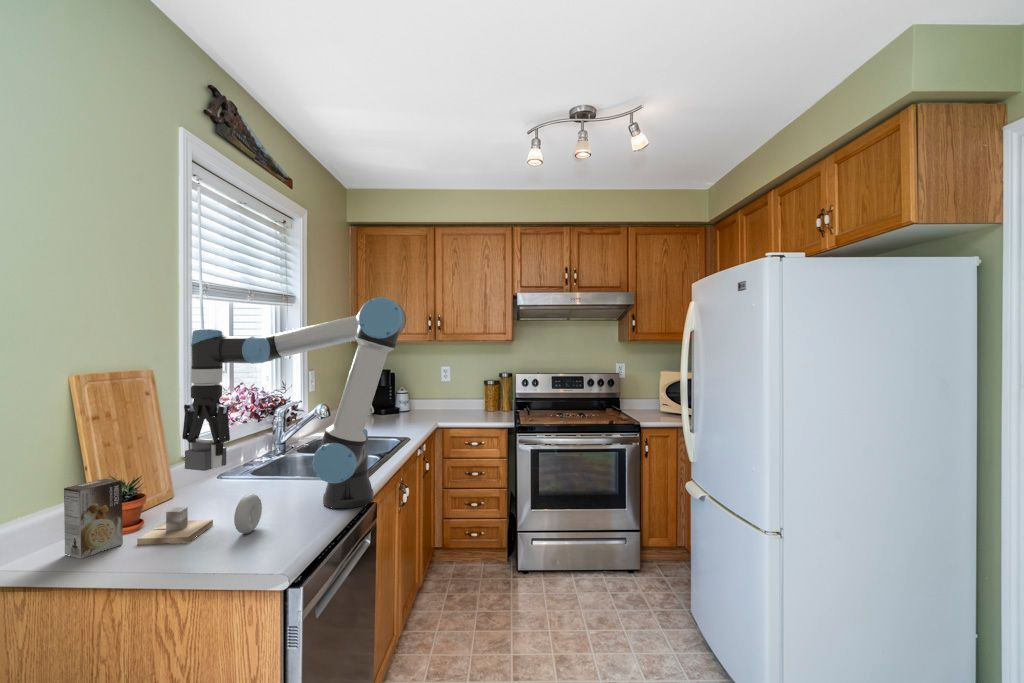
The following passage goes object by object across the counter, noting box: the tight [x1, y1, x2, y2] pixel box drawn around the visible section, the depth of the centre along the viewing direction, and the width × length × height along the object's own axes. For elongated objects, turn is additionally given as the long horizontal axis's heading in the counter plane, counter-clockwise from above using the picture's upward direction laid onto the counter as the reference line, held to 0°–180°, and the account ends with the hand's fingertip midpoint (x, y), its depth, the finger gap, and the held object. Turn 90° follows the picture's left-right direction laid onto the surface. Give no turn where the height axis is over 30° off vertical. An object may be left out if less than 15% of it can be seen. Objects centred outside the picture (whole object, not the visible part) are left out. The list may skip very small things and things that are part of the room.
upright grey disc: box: [233, 493, 263, 535], centre depth 130 cm, size 10×4×10 cm, turn 0°
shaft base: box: [136, 506, 214, 546], centre depth 129 cm, size 12×12×6 cm
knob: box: [184, 437, 227, 472], centre depth 138 cm, size 7×7×8 cm
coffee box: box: [63, 478, 124, 559], centre depth 119 cm, size 9×6×16 cm
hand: (205, 465), depth 138 cm, fingers closed on knob, 7 cm apart
